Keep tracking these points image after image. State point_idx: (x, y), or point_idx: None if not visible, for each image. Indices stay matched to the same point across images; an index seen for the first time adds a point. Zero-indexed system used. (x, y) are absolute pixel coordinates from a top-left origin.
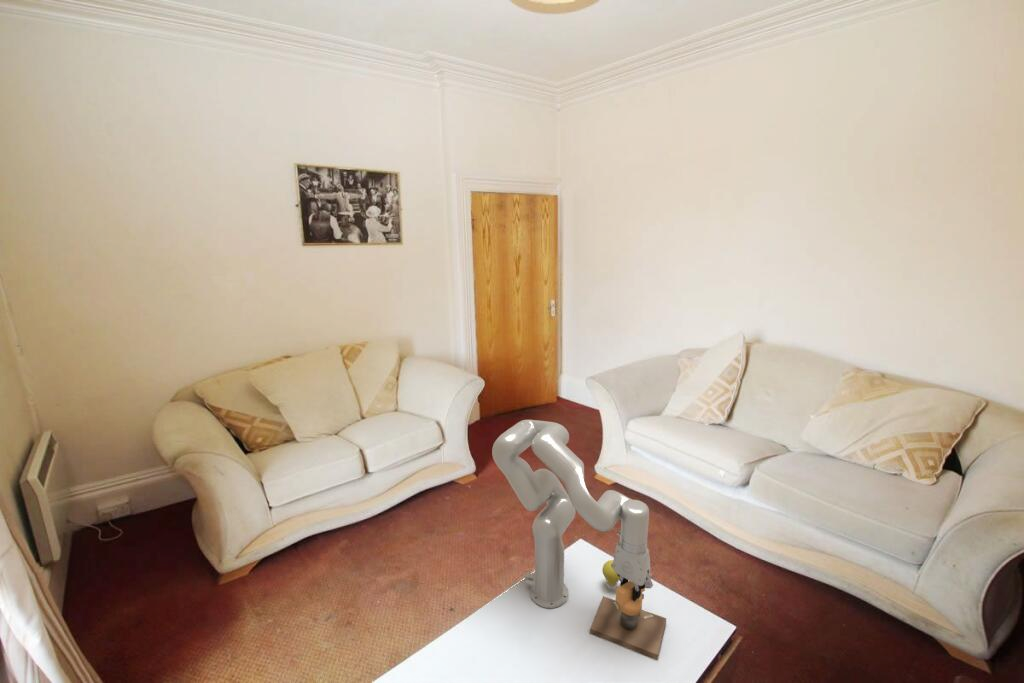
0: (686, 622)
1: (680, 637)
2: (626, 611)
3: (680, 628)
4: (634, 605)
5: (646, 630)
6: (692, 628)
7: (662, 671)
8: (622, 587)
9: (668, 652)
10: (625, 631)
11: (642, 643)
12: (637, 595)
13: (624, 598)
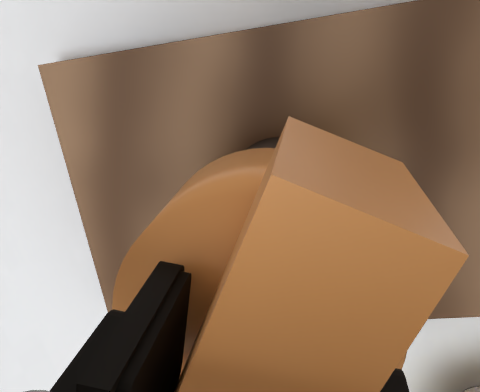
0: (56, 359)
1: (39, 267)
2: (254, 157)
3: (62, 316)
4: (155, 218)
5: (166, 198)
6: (22, 340)
7: (10, 8)
8: (338, 358)
9: (42, 149)
10: (274, 117)
11: (145, 89)
12: (103, 338)
13: (257, 196)
